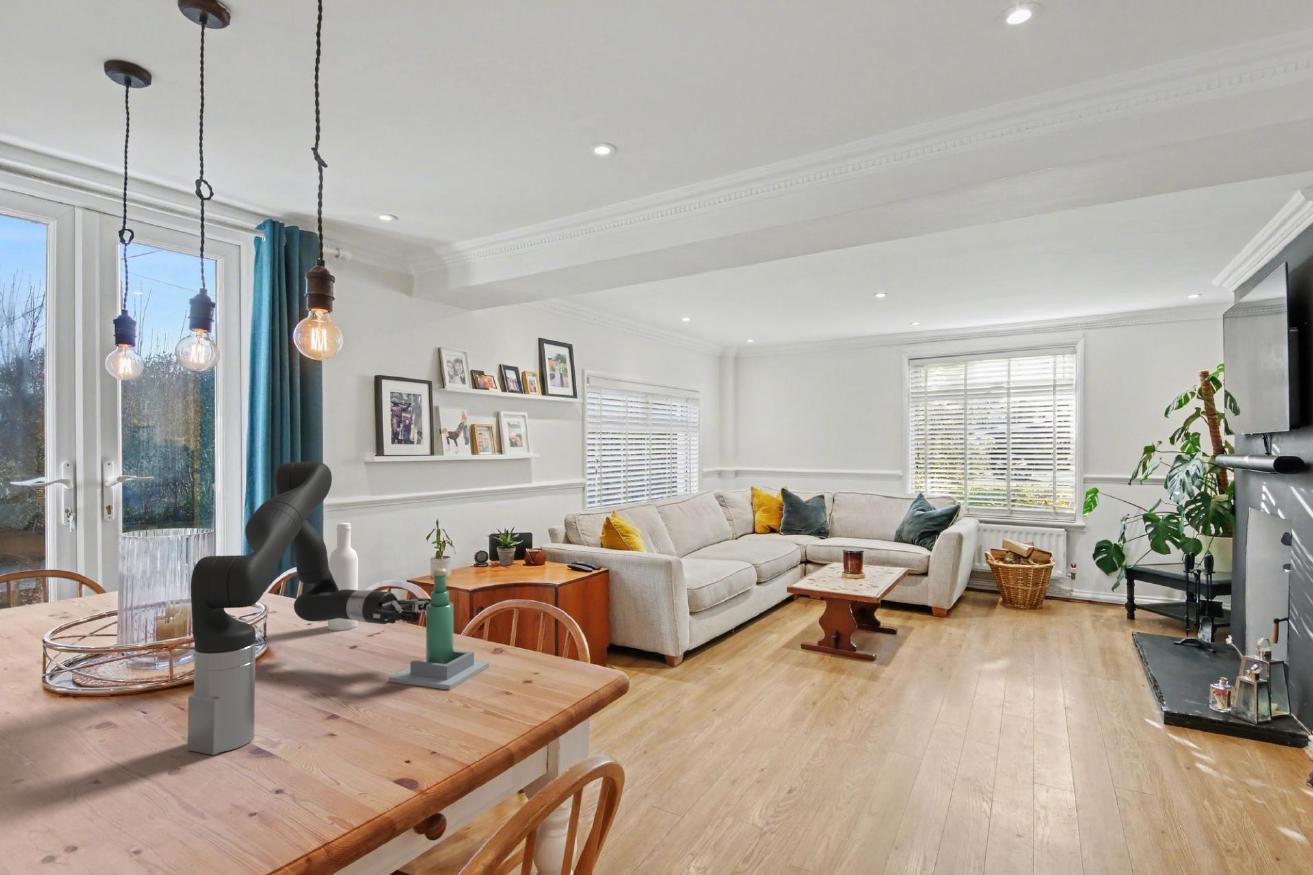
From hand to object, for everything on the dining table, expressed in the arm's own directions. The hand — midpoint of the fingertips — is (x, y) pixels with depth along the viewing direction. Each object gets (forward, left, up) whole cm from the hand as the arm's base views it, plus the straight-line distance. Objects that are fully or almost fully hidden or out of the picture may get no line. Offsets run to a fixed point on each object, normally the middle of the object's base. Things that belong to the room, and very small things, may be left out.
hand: (429, 612), depth 160 cm
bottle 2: (0, -3, -13) cm, 13 cm away
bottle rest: (0, -3, -14) cm, 14 cm away
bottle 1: (+25, +47, -14) cm, 55 cm away
